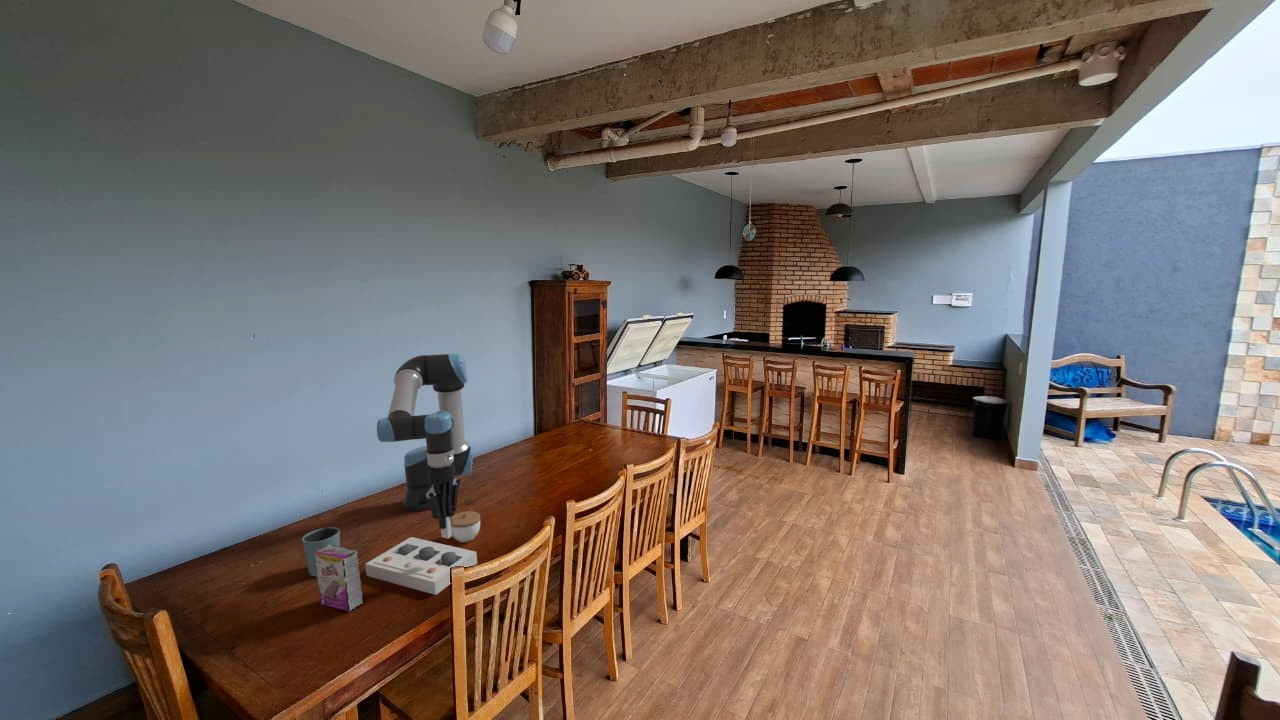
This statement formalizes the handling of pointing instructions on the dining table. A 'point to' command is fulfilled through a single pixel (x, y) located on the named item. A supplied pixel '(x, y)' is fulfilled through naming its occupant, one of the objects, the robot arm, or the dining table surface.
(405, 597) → the dining table surface
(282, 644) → the dining table surface
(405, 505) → the robot arm
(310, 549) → the grey plant pot
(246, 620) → the dining table surface
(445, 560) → the button
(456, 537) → the lidded jar
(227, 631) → the dining table surface
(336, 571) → the candy bar box
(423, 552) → the button
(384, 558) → the button board
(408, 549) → the button
